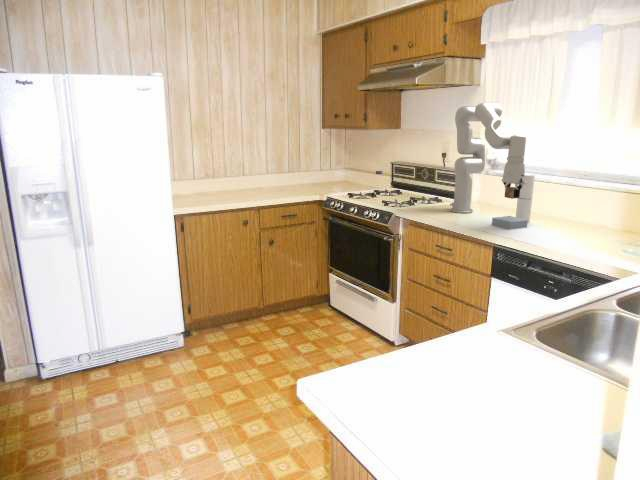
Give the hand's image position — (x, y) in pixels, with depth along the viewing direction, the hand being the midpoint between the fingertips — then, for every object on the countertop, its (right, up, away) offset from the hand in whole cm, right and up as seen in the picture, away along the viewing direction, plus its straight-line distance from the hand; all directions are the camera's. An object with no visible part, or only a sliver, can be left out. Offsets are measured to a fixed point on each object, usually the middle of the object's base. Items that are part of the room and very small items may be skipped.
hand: (512, 196), depth 251 cm
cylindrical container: (+11, -12, +15) cm, 22 cm away
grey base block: (0, -15, +4) cm, 16 cm away
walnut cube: (0, -1, 0) cm, 1 cm away
